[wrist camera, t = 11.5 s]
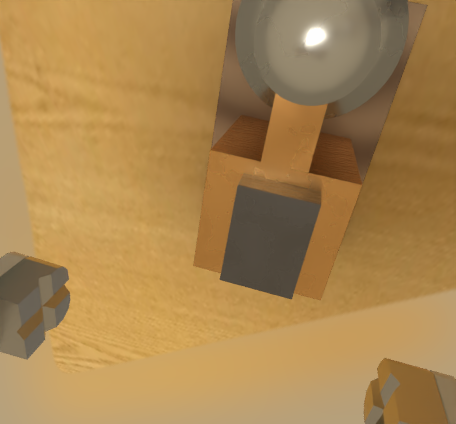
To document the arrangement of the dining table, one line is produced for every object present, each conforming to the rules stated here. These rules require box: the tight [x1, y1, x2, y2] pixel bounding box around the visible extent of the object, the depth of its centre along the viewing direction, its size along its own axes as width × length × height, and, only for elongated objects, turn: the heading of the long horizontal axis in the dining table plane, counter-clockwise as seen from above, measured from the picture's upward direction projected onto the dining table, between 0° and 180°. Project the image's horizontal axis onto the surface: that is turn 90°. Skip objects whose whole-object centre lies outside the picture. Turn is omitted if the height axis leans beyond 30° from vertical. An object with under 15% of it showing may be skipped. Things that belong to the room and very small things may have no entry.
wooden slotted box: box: [193, 0, 409, 300], centre depth 25 cm, size 22×10×16 cm, turn 171°
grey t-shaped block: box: [220, 173, 321, 299], centre depth 29 cm, size 7×5×12 cm
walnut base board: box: [211, 0, 427, 184], centre depth 33 cm, size 22×14×2 cm, turn 171°
